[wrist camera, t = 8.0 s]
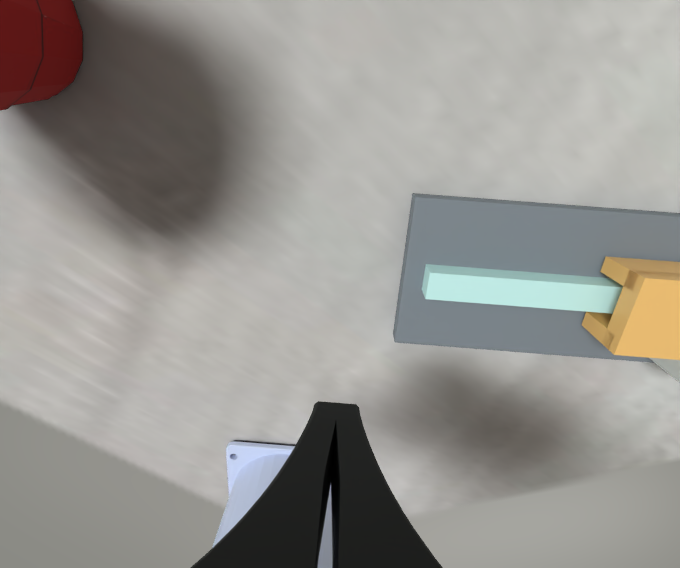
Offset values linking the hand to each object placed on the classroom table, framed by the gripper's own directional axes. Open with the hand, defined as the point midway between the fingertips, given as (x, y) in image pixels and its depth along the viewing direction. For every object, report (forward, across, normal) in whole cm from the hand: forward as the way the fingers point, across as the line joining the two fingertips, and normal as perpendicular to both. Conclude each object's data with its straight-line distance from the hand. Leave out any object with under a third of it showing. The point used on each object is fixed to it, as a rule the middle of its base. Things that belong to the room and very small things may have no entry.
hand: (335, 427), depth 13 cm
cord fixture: (+10, -13, -2) cm, 16 cm away
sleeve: (+9, -14, -2) cm, 17 cm away
